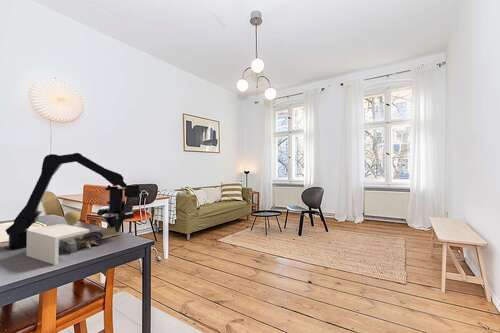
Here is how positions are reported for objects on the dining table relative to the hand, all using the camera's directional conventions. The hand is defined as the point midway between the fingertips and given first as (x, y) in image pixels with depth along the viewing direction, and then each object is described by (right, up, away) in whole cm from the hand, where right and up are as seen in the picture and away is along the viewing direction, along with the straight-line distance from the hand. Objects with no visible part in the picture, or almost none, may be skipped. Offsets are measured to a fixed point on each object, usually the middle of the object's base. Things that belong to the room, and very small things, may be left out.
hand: (115, 231), depth 117 cm
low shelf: (-8, -2, -25) cm, 26 cm away
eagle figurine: (-2, -3, -17) cm, 17 cm away
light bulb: (-26, -2, +7) cm, 27 cm away
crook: (-2, -2, -10) cm, 11 cm away
